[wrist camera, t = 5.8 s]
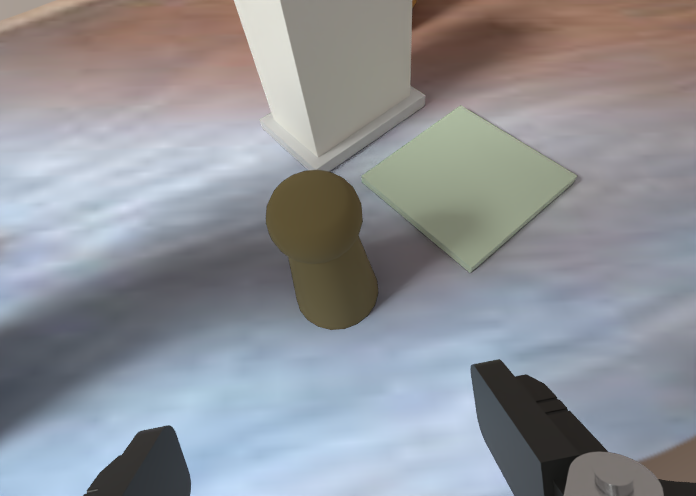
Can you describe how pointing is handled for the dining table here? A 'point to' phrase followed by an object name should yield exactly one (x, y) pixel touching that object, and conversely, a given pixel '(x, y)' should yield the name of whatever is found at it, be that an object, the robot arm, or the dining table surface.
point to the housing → (331, 73)
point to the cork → (323, 247)
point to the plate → (467, 185)
